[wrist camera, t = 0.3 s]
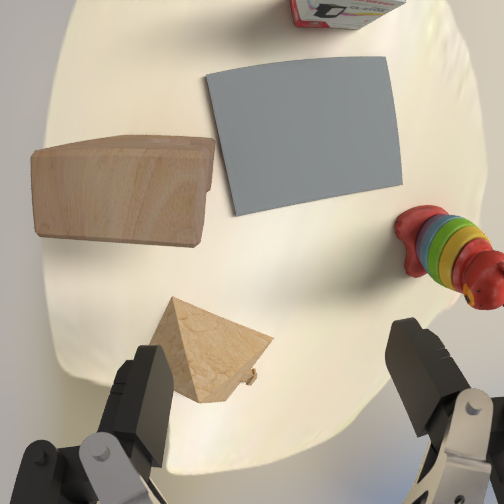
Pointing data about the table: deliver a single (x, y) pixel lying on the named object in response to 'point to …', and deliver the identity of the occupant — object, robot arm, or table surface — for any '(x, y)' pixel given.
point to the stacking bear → (452, 255)
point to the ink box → (340, 12)
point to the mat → (306, 130)
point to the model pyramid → (207, 351)
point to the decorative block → (123, 189)
